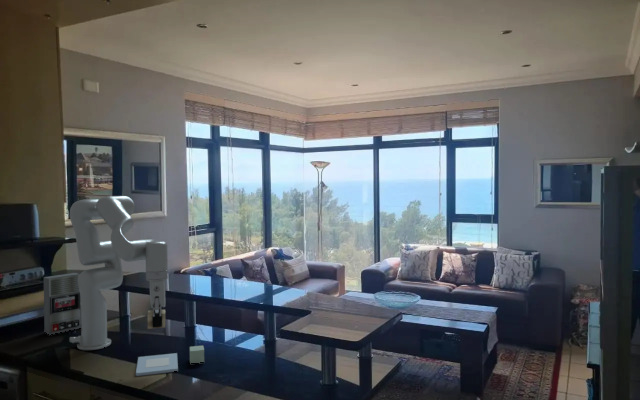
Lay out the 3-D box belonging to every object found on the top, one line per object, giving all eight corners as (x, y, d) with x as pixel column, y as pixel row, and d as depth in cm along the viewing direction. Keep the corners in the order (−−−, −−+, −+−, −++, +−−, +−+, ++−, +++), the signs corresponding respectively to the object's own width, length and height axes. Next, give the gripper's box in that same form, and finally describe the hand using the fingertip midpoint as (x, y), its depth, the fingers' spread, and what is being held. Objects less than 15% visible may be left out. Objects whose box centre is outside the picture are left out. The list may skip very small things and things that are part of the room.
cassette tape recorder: (49, 336, 207) (48, 279, 206) (44, 333, 211) (43, 277, 210) (82, 328, 218) (81, 274, 217) (76, 326, 222) (75, 272, 221)
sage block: (190, 364, 176) (190, 351, 176) (189, 359, 181) (189, 346, 180) (204, 363, 177) (204, 349, 177) (203, 358, 182) (203, 345, 182)
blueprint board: (135, 376, 165) (135, 373, 165) (138, 359, 180) (138, 356, 180) (178, 371, 169) (177, 368, 169) (177, 355, 185) (177, 352, 184)
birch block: (147, 328, 170) (147, 315, 170) (148, 324, 176) (148, 310, 176) (165, 327, 172) (165, 313, 172) (165, 322, 178) (165, 309, 178)
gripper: (167, 279, 166) (168, 330, 167) (167, 270, 183) (168, 317, 183) (144, 280, 164) (145, 332, 165) (146, 271, 181) (147, 318, 181)
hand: (157, 323), depth 174 cm, fingers closed on birch block, 6 cm apart
